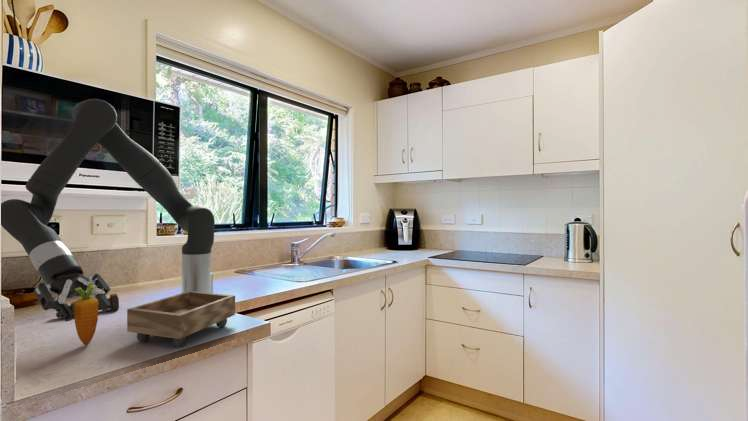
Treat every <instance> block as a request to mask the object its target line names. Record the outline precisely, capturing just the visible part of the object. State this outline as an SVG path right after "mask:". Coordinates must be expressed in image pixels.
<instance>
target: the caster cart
mask: <svg viewBox="0 0 748 421" xmlns="http://www.w3.org/2000/svg"><path fill="white" fill-rule="evenodd" d="M126 314H127V315H126V321H127V323H126V327H127V328H126V332H129V333H136V339H137V341H139V342H143V343H144V342H145V343H146V342H147V341H148V340H149V339H151V336H157V337H161V338H162V337H164V338H169V339H170V338H171V339H172V345H173V347H177V348H182V347H184V345H185V344H186V342H187V337H189V336H190V335H192V334H195V333H198V332H199V331H201V330H203V329H207V328H209V327H211V326H213V325H216V326H217V327H218V328H224V327H226V326H227V323H228V319H229V318H230V317H234V316H235V315H236V295H234V294H223V293H214V292H213V293H204V292H194V291H188V292H184V293H182V292H181V293H178V294H174V295H171V296H167V297H165V298H161V299H157V300H154V301H151V302H148V303H143V304H141V305H137V306H134V307H130V308H127V309H126Z"/></svg>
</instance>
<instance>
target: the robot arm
mask: <svg viewBox="0 0 748 421" xmlns="http://www.w3.org/2000/svg"><path fill="white" fill-rule="evenodd" d="M73 106H74V107H73V108H72V112H71V117H72V121H73V122H72V125H71V127H70V129H69V130H68V132H67V134H66V135H65V136H64V138H63V139H62V140H61V141H60V142H59V143H58V144H57V146H55V147H54V149H53V150H52V151H51V152H50V153H49V154H48V155H47V156H46V157H45V159H43V161H42V162H41V163H40V164H39V166H38V167H37V168H36V170H35V171H34V173H32V175H31V176H30V177H29V179H28V181H27V182H26V184H25V189H26V190H27V191H28V192H29V193H31V195H32V196H31V200H30V202H28V201H25V200H23V199H19V198H10V199H7V200H4V201H2V203H0V204H1V225H0V226H1V227H2V228H3V229H4V230H5V231H6V232H7V233H8V234H9V235H10V236H11V237H12V238H14V239H15V240H16V241H17V242H18V243H20V244H21V245H22V247H23V249H24V251H25V253H26V254H27V255H28V257H29V258H30V261H31V263H32V266H33V267H34V269H35V270H36V271H37V273H38V275H39V276H40V277H41V279H42V281H43V283H42V282H40V283H38V285H37V287H36V288H34V290H33V292H34V295H35V296H36V298H37V301H38V302H39V304H40V307H41V308H42V309H43V311H49V310H54V311H56V313H57V312H58V314H59V315H60V316H61V317H60V319H62V320H63V321H65V322H70V321H72V320H73V318H75V317H74V314H73V312H72V311H71V309H70V308H69V306H70V305H68V304H67V303H65V302H66V299H73V298H74V297H81V295H80V294H79V293H78V292H77V291H75V289H76V288H77V289H78V288H80V287H81V288H82V290H83V291H85V293H86V292H87V290H88V283H93V289H92V292H91V296H90V298H96V299H97V300H98V305H99V306H100V308H101V309H102V310H101V311H102V312H107V311H108V310H110V309H109V308H110V305H111V304H110V302H109V300H108V299H107V294H108V293H109V292H110V291H111V287H110V286H109V285H108V284H107V283H106V281H105V280H104V279H103V277H102V276H101V275H100V274H99V273H95V274H94V275H92V276H89V277H88V276H86V275H85V274H84V271H83V268H82V266H81V264H80V262H78V260H77V259H76V256H74V254H73V253H72V251H71V250H70V249H69V248H68V246H66V245H65V244H64V242H63V241H62V239H61V238H60V236H59V235H58V234H57V232H56V231H55V230H54V229H53V228H52V227H50V226H48V224H49V223H50V221H51V220H52V218H53V215H54V212H55V208H56V206H57V202H58V198H59V196H60V194H61V193H62V191H63V190H64V189H65V187H66V186H67V184H68V183H69V181H71V179H72V177H73V176H74V174H75V173H76V172H77V170H78V168H79V167H80V165H81V164H82V162H83V161H84V159H85V158H86V157H87V155H88V154H89V153H90V152H91V150H92V149H93V148H94V147H95V146H96V144H99V145H100V146H101V147H102V148H103V149H104V150H105V151H106V152H108V154H109V155H111V157H112V158H113V159H114V160H115V161H116V162H117V164H118V165H119V166H120V167H121V168H122V169H123V170H124V172H126V173H127V174H128V175H129V177H130V178H131V179H132V180H133V181H134V182H135V183H137V185H139V187H141V188H142V189H143V190H144V191H145V192H146V193H147V194H148V195H150V197H151V198H152V199H153V200H155V201H156V202H157V203H158V204H159V205H160V206H161V207H162V208H163V209H164V210H165V211H166V212H167V213H168V214H169V215H170V216H171V218H172V219H173V220H174V222H175V223H176V224H177V226H179V228H180V229H182V230H183V231H184V232H186V233H187V238H186V239H187V240H186V242H185V243H184V244H183V245H182V246H181V293H184V292H188V291H194V292H204V293H214V273H213V272H212V248H213V246H214V243H215V242H214V240H215V228H216V227H215V226H216V223H215V217H214V216H215V215H214V214H213V212H212V210H210V209H209V208H208V207H203V206H195V205H193V204H192V203H191V202H190V201H189V200H187V199H186V198H185V196H183V194H182V193H181V192H180V190H179V189H178V186H177V185H176V182H175V179H174V177H173V176H172V174H171V173H170V172H169V170H168V169H167V168H166V167H165V166H164V165H163V163H161V162H160V161H159V159H158V158H157V157H155V156H154V155H153V154H152V153H151V152H149V151H148V150H147V149H145V148H144V147H143V146H141V145H140V144H139V143H137V142H136V141H134V139H132V138H130V136H128V135H127V133H125V132H124V130H123V129H122V128H121V127H120V125H119V124H118V122H117V121H118V114H117V112H116V109H115V107H114V106H113V105H112V104H110V102H108V101H106V100H103V99H99V98H90V99H85V100H83V101H80V102H78V103H76V104H75V105H73ZM51 293H53V294H56V297H55V300H54V297H53V295H52V294H51Z"/></svg>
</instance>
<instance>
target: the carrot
mask: <svg viewBox="0 0 748 421" xmlns="http://www.w3.org/2000/svg"><path fill="white" fill-rule="evenodd" d="M92 289H93V283H88V287H87V290H86V291H87V292H86V293H85V291H83V290H82V288H81V287H80V288H78V289H77V288H76V289H75V291H77V292H78V293H79V294H80V295H81V296H80V297H81V298H79V299H77V300H76V301H74V302H75V304H74V317H73V318H74V324H75V325H74V326H75V330H76V333H77V334H76V335H77V336H78V339H79V341H80V342H81V343H82V344H83V345H84V346H88V345H89V344H90V343H91V341H92V340H93V337H95V336H94V335H95V333H96V329H97V326H98V320H99V310H98V300H97V299H96V298H91V297H90V296H91V292H92Z"/></svg>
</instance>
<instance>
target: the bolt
mask: <svg viewBox="0 0 748 421" xmlns="http://www.w3.org/2000/svg"><path fill="white" fill-rule="evenodd" d="M107 299H108V300H109V302H110V304H111V305H110V308H109V309H108V310H111V311H113V312H116V311H118V310H119V309H120V299H119V295H118V293H112V294H110V295H109V297H108V298H107ZM75 302H76V301H72V302H71V303H70V304H69V305H68V306H69V308H70V309H71V311H72V312H73V314H74V304H75ZM98 311H102V309H101V308H100V306H99V305H98ZM55 316H56V318H58V319H59V318H61V316H60V315H59V314H58V312H57V311H56V313H55Z"/></svg>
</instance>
